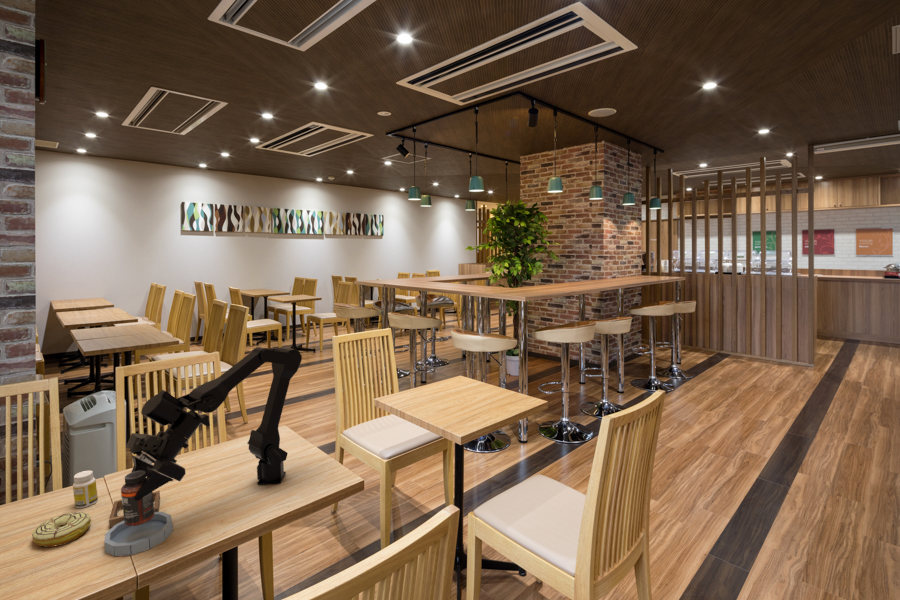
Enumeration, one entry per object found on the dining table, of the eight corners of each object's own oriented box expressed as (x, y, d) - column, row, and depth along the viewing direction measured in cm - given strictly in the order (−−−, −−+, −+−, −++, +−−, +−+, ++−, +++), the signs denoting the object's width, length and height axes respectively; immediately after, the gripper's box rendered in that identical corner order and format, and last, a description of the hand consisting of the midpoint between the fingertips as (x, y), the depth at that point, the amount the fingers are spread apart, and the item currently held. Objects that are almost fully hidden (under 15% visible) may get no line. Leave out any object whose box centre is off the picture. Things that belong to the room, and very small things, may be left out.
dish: (182, 519, 113) (181, 510, 113) (153, 553, 100) (153, 543, 100) (127, 522, 112) (126, 513, 112) (91, 557, 99) (90, 547, 99)
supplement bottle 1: (96, 496, 124) (93, 467, 123) (99, 503, 121) (96, 473, 120) (74, 503, 121) (70, 473, 120) (76, 510, 118) (72, 480, 117)
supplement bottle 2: (158, 510, 110) (154, 466, 108) (150, 524, 104) (145, 478, 103) (130, 514, 108) (125, 470, 107) (119, 529, 102) (115, 482, 101)
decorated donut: (72, 519, 114) (71, 505, 114) (101, 527, 111) (100, 513, 110) (22, 544, 104) (20, 529, 104) (53, 554, 101) (51, 538, 100)
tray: (160, 498, 123) (159, 490, 123) (158, 516, 115) (157, 508, 114) (115, 508, 118) (114, 500, 118) (109, 528, 110) (108, 520, 109)
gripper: (135, 410, 112) (84, 470, 105) (166, 428, 101) (112, 496, 93) (172, 430, 119) (127, 488, 112) (205, 448, 108) (157, 514, 100)
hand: (130, 495), depth 104 cm, fingers closed on supplement bottle 2, 6 cm apart
